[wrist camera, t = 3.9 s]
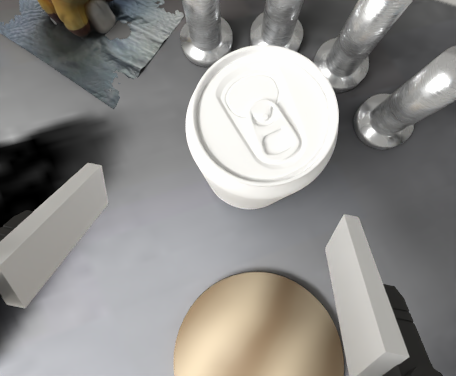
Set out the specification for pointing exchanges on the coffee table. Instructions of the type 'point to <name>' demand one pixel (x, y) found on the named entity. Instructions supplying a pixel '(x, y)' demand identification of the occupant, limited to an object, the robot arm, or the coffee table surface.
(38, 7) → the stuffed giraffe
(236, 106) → the beverage can
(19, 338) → the coffee table surface
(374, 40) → the posts
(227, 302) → the cork coaster
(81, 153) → the coffee table surface
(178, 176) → the coffee table surface
